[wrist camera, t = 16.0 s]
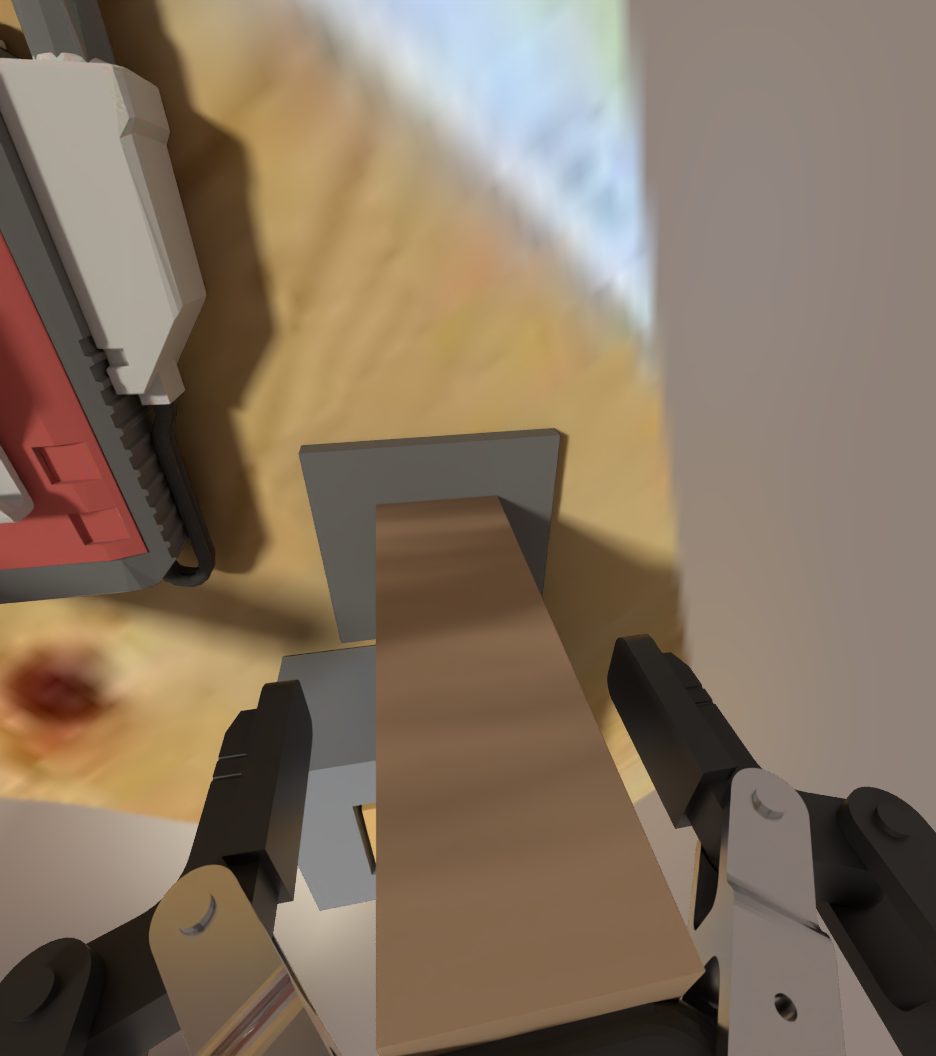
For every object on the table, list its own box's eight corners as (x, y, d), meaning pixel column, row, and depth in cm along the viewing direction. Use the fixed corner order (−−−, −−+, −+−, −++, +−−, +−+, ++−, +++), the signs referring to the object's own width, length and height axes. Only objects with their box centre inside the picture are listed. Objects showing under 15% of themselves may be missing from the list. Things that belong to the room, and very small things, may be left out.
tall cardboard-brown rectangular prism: (375, 504, 15) (376, 1049, 5) (496, 495, 16) (705, 971, 6) (386, 597, 17) (401, 1104, 7) (492, 586, 18) (638, 1043, 8)
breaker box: (282, 657, 19) (256, 779, 15) (545, 623, 20) (588, 726, 16) (328, 796, 25) (319, 911, 21) (528, 763, 26) (556, 864, 22)
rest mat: (301, 445, 14) (298, 453, 14) (554, 428, 15) (560, 435, 15) (342, 631, 19) (340, 642, 18) (535, 608, 20) (539, 618, 19)
